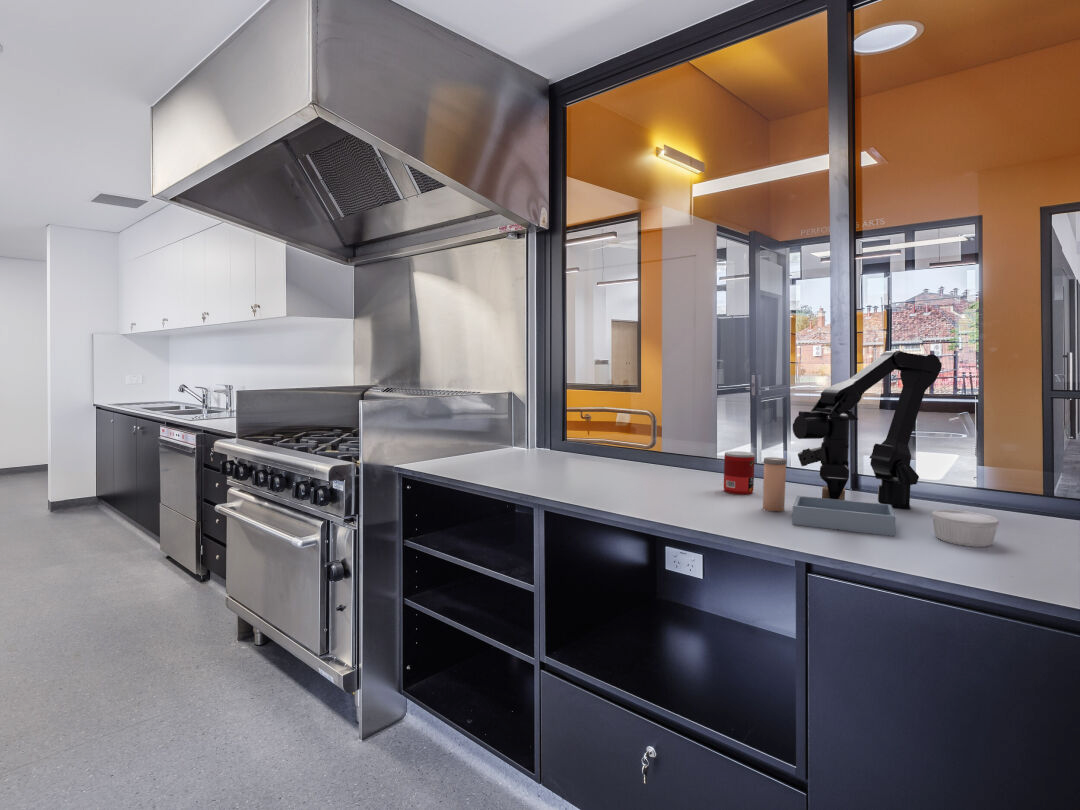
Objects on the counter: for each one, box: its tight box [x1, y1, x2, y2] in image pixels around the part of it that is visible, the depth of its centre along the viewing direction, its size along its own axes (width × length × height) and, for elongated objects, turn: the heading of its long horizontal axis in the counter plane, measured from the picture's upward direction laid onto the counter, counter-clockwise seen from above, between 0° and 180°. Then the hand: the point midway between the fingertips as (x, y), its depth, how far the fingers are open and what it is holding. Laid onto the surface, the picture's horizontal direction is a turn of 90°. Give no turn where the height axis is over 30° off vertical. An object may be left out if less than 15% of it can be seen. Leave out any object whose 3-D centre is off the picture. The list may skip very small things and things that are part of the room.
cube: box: [821, 485, 846, 500], centre depth 148 cm, size 5×5×5 cm
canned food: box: [723, 450, 755, 495], centre depth 167 cm, size 8×8×11 cm
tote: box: [791, 495, 897, 537], centre depth 133 cm, size 20×13×4 cm, turn 63°
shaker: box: [762, 456, 788, 513], centre depth 146 cm, size 5×5×12 cm
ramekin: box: [931, 509, 1000, 548], centre depth 120 cm, size 11×11×5 cm
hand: (833, 500), depth 148 cm, fingers open, 9 cm apart
